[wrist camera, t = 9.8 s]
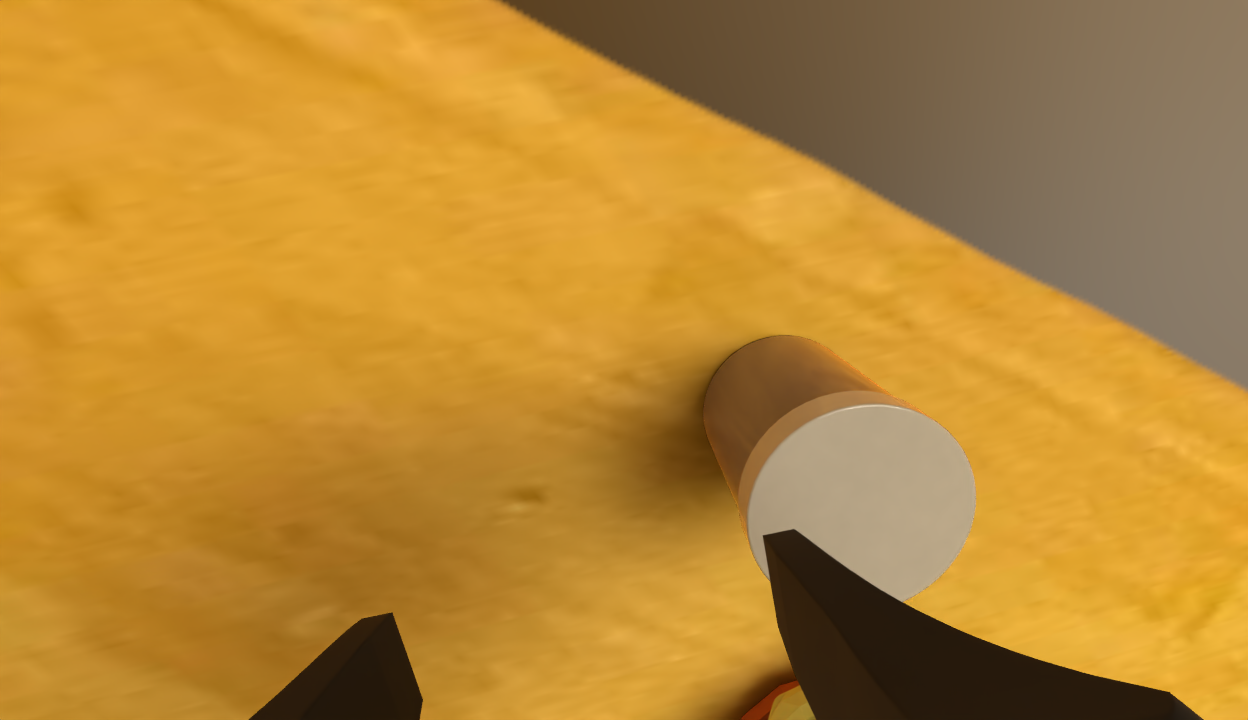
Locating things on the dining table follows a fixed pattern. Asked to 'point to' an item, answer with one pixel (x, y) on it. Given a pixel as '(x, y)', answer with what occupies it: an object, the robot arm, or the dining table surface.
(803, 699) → the cheeseburger
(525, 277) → the dining table surface
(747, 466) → the spice jar
